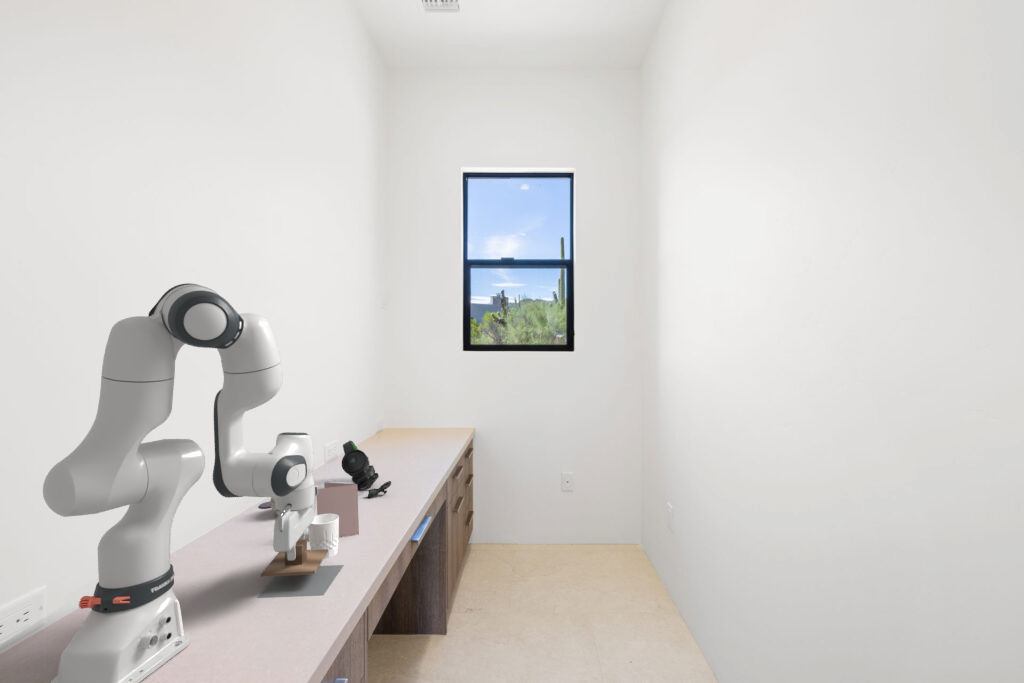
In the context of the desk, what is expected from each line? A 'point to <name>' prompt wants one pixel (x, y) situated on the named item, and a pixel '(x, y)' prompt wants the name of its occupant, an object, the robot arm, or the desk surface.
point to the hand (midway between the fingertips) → (295, 554)
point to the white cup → (324, 533)
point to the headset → (361, 469)
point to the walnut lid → (296, 561)
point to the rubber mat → (302, 583)
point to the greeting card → (340, 505)
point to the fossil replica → (272, 504)
